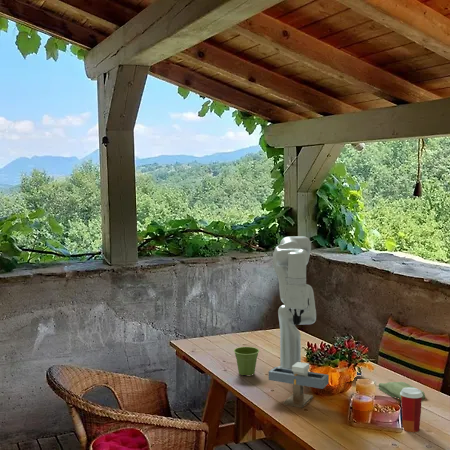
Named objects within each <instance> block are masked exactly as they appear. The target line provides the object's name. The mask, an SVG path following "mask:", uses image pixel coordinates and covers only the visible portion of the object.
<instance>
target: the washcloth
mask: <svg viewBox="0 0 450 450" xmlns="http://www.w3.org/2000/svg"><path fill="white" fill-rule="evenodd" d="M377 386H378V390H379V389H380V390H379V391H381V390H382V391H381V392H383V393H384V392H385V394H386V393H387V394H386V395H388V394H389V396H390V397H391V398H393V397H396V398H399V399H400V400H401V395H400V392H401V391H402V389H403V388H407V387H411V388H416V387H415V386H413V385H410V384H408V383H407V382H406V381H389V382H386V383H385V382H378V385H377ZM419 390H420V391H421V392H422V394H423V396H422V400H423V399H425V398H426V394H425V392H424V391H423V390H421V389H419Z"/></svg>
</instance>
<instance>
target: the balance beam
mask: <svg viewBox="0 0 450 450" xmlns="http://www.w3.org/2000/svg"><path fill="white" fill-rule="evenodd" d="M329 377H330V376H329V374H326V373H325V374H324V373H320V372H313V371H308V376H303V375H298V374H293V371H292V369H287V368H281V367H278V366H275V367H272V368H271V369H270V370H269V371H268V381H272V382H278V383H285V384H289V385H290V384H292V394H291V395H290V396H289V397H288V398H286V399H285V400H284V401H283V405H284V404H285V405H286V406H289V405H290V406H289V407H296V408H301V409H302V408H304V407H306V405H307V404H308V403H309V402H310V401H311V400H312V399H313V398H314V395H313V394H306V393H305V392H304V390H305V389H304V387H309V388H310V387H311V388H315V389H322V390H323V389H325V388H326V387H327V385H328V384H329V383H330V381H329V379H330V378H329Z"/></svg>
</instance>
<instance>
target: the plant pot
mask: <svg viewBox="0 0 450 450" xmlns="http://www.w3.org/2000/svg"><path fill="white" fill-rule="evenodd" d="M233 352H234V355H235V358H236V364H237V371H238V375H239V374H241V375H252V374H254V375H255V372H256V367H257V359H258V355H259V352H260V349H259V348H257V347H253V346H240V347H236V348H234V349H233ZM241 375H240V376H241ZM252 376H253V375H252Z"/></svg>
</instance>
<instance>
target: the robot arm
mask: <svg viewBox="0 0 450 450" xmlns="http://www.w3.org/2000/svg"><path fill="white" fill-rule="evenodd" d="M311 251H312V243H311V240H310V238H309V237H307V236H304V235H301V236H295V235H293V236H285V237H283V238H282V239H281V240H280V243H279V245H277V246H275V248H274V251H273V253H272V264H273V269H274V271H275V274H276V276H277V279H278V287H279V298H280V301H281V302H282V303H283V304H282V305H280V306H279V308H278V310H277V314H278V322H279V336H280V337H279V339H280V340H279V344H280V345H279V347H280V348H279V349H280V351H279V352H280V353H279V356H280V358H279V361H280V364H279V365H278V366H277V367H281V368H287V369H292V366H293V365H294V364H296V363H297V362H301V360H302V359H301V358H302V355H301V353H302V351H301V350H302V347H301V345H302V344H301V342H302V339H301V336H302V334H301V331H300V330H299V329H298V328H297V326H298V325H313V324H314V323H315V322H316V321H317V310H316V301H315V293H314V289H313V287H312V286H311V285H310V284H307V265H308V264H309V260H310V257H311V256H310V255H311Z"/></svg>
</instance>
